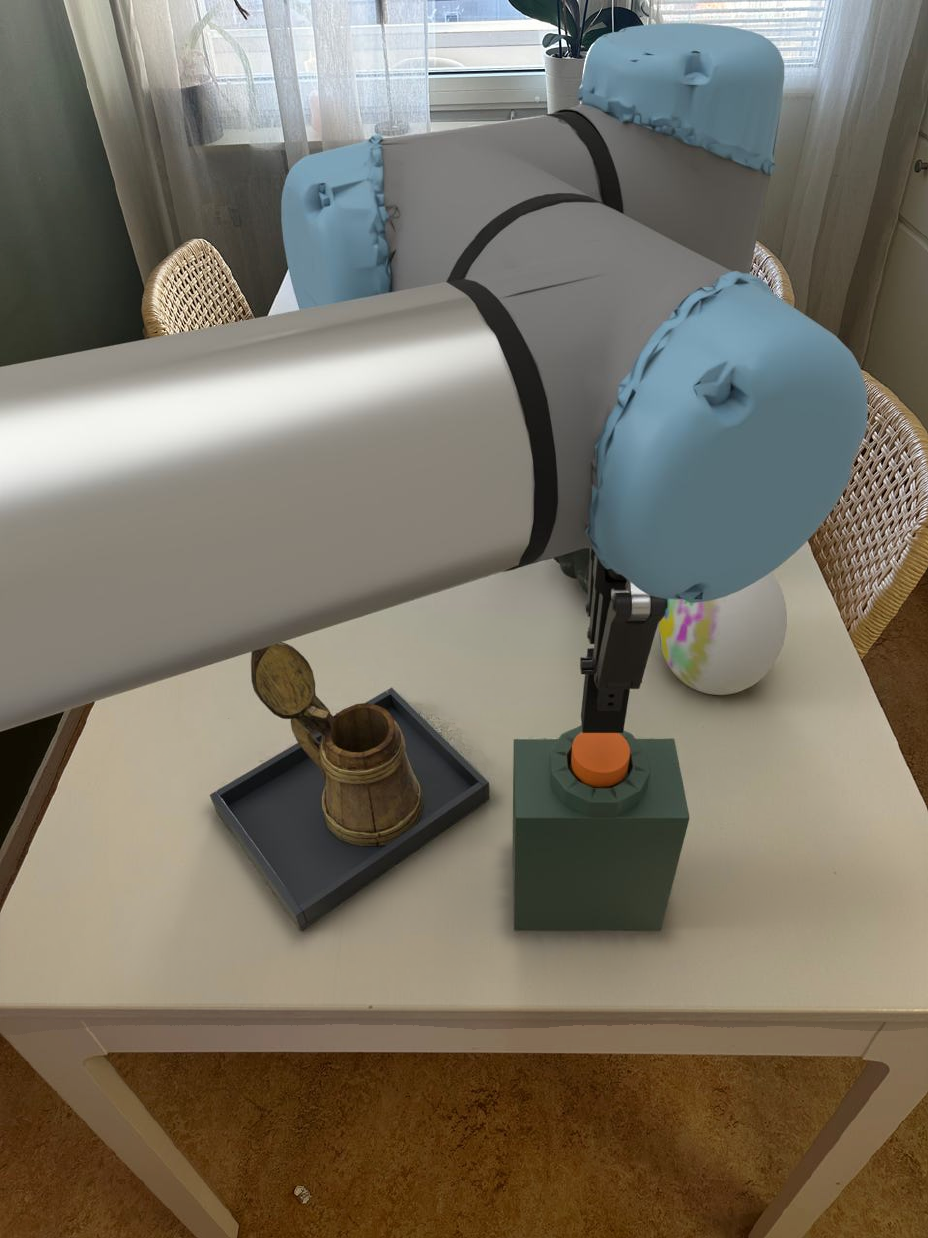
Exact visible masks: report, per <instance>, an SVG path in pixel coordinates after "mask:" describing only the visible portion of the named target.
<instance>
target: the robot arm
mask: <svg viewBox="0 0 928 1238" xmlns="http://www.w3.org/2000/svg"><path fill="white" fill-rule="evenodd" d="M783 59H784V58H783V55H782V54H781V52H780V50H779V48H778V46H776V44H774V42H773V41H771V40H770V39H769V38H768V37H765V36H764V35H762V34H760V33H757V32H753V31H750V30H746V29H743V28H739V27H734V26H729V25H719V24H710V23H709V24H708V23H692V22H691V23H689V22H688V23H687V22H684V23H682V22H681V23H679V22H678V23H672V22H671V23H654V24H653V23H652V24H642V25H636V26H635V25H634V26H628V27H625V28H621V29H620V30H618V31H613V32H608V33H605V34H603V35H601V36H599V37H598V38H597V39H596V40H595V41H594V42H593V43H592V44H591V45H590V47H589V49H588V51H587V53H586V56H585V60H584V65H583V72H582V78H581V83H580V86H579V87H578V88H577V90H578V93H577V94H578V95H577V101H579V104H578V105H577V106H571V107H567V108H562V109H559V110H556V111H555V110H554V112H552V113H547V114H542V115H536V116H530V117H523V118H516V119H508V120H502V121H501V120H500V121H496V122H489V123H482V124H473V125H469V126H462V127H461V126H460V127H455V128H447V129H440V130H434V131H427V132H420V133H413V134H406V135H399V136H394V137H393V136H392V137H387V138H384V136H383V134H382V133H380V134H373V135H371V136H370V138H369V139H368V140H365V141H361V142H357V143H352V144H350V145H349V144H348V145H344V146H341V147H337V148H332V149H328V150H324V151H321V152H316V153H312V154H308V155H306V156H304V157H302V158H301V159H299V160H298V161H297V162H296V163H294V165H293V166H292V167H291V168H290V170H289V171H288V173H287V175H286V178H285V181H284V185H283V189H282V193H281V205H280V207H281V210H280V211H281V216H280V217H281V218H280V220H281V232H282V239H283V247H284V252H285V258H286V264H287V270H288V273H289V278H290V282H291V285H292V289H293V293H294V297H295V301H296V303H297V306H298V309H297V310H292V311H291V310H290V311H286V312H281V313H275V314H270V315H266V316H260V317H256V318H250V319H245V320H239V321H233V322H229V323H223V324H219V325H213V326H208V327H203V328H197V329H193V330H187V331H182V332H177V333H172V334H166V335H161V336H155V337H150V338H145V339H140V340H134V341H129V342H124V343H119V344H114V345H108V346H103V347H98V348H92V349H88V350H83V351H76V352H72V353H67V354H62V355H56V356H51V357H45V358H41V359H40V358H39V359H34V360H29V361H25V362H20V363H14V364H10V365H9V364H8V365H5V366H0V732H3V731H7V730H10V729H13V728H16V727H19V726H23V725H26V724H29V723H33V722H35V721H38V720H42V719H44V718H48V717H51V716H54V715H57V714H60V713H63V712H67V711H70V710H73V709H76V708H79V707H83V706H85V705H88V704H92V703H95V702H98V701H101V700H105V699H107V698H110V697H113V696H117V695H120V694H124V693H127V692H129V691H132V690H136V689H140V688H143V687H146V686H148V685H151V684H154V683H158V682H161V681H164V680H167V679H170V678H173V677H177V676H179V675H183V674H186V673H189V672H193V671H196V670H198V669H199V670H200V669H202V668H205V667H208V666H211V665H214V664H218V663H221V662H223V661H227V660H230V659H233V658H236V657H240V656H242V655H246V654H249V653H251V652H252V651H255V650H258V649H262V648H265V647H268V646H271V645H274V644H277V643H280V642H283V643H285V642H286V641H290V640H294V639H297V638H299V637H303V636H306V635H308V634H311V633H315V632H318V631H321V630H324V629H328V628H330V627H333V626H337V625H340V624H343V623H347V622H349V621H353V620H355V619H359V618H362V617H365V616H368V615H372V614H374V613H378V612H381V611H384V610H387V609H390V608H393V607H396V606H401V605H403V604H406V603H409V602H412V601H415V600H419V599H422V598H425V597H428V596H431V595H434V594H438V593H440V592H443V591H447V590H450V589H454V588H456V587H459V586H462V585H465V584H469V583H472V582H475V581H479V580H482V579H484V578H488V577H491V576H494V575H498V574H500V573H504V572H505V573H506V572H510V571H514V570H516V569H519V568H523V567H525V566H529V565H532V564H536V563H541V562H544V561H547V560H551V559H554V557H558V556H561V555H564V554H567V553H571V552H574V551H577V550H580V549H583V548H589V549H590V562H589V580H588V594H587V599H586V603H585V606H584V607H585V613H586V615H587V617H588V618H589V625H588V628H587V631H586V638H587V639H588V643H589V645H593V648H591V647H589V648H587V651H586V657H584V656H583V657H582V656H581V657H580V659H579V665H580V666H579V668H580V675H584V680H583V691H582V699H581V711H580V722H581V723H580V724H581V725H582V733H623V731H625V723H626V718H627V717H626V716H627V710H628V704H629V699H630V698H629V697H630V692H631V690H639V689H640V688H641V684H642V682H643V678H644V674H645V671H646V667H647V663H648V661H649V657H650V654H651V650H652V646H653V643H654V639H655V636H656V632H657V629H658V626H659V624H660V621H661V619H662V618H663V617H664V615H665V612H666V609H667V608H668V601H667V599H684V600H686V601H688V602H690V603H697V602H706V601H711V600H715V599H718V598H722V597H725V596H728V595H730V594H733V593H735V592H738V591H740V590H742V589H744V588H746V587H748V586H750V585H752V584H753V583H755V582H757V581H758V580H760V579H762V578H763V577H765V576H766V575H768V574H769V573H771V572H774V571H775V570H776V569H778V568H779V567H780V566H782V565H783V564H784V563H785V562H787V561H788V560H789V559H790V558H791V557H793V555H795V554H796V553H797V552H798V551H799V550H800V549H801V548H802V547H803V546H804V545H805V544H806V543H807V542H808V541H809V540H810V538H811V537H812V536H813V535H814V534H815V533H816V532H817V531H818V530H819V528H820V527H821V526H822V524H823V523H824V522H825V521H826V519H827V518H828V517H829V515H830V513H832V511H833V510H834V508H835V507H836V505H837V504H838V502H839V501H840V499H841V497H842V495H843V493H844V492H845V489H846V488H847V486H848V484H849V481H850V480H851V478H852V468H853V467H852V466H853V464H854V460H855V458H856V455H857V453H858V452H859V450H860V447H861V445H862V444H863V441H864V440H865V438H866V432H867V427H868V415H869V402H868V401H869V400H868V390H867V387H866V382H865V377H864V374H863V370H862V369H861V367H860V364H859V363H858V361H857V359H856V357H855V355H854V354H853V352H852V351H851V350H850V349H849V348H848V347H847V346H846V345H845V344H844V343H843V342H842V340H841V339H840V338H838V337H837V336H836V335H835V334H834V333H832V332H831V331H829V330H828V329H826V328H825V327H823V326H822V325H821V324H819V323H817V322H816V321H815V320H813V319H812V318H810V317H809V316H807V315H806V314H805V313H803V312H801V311H800V310H798V309H797V308H795V307H794V306H793V305H792V304H790V303H788V302H786V301H785V300H784V299H782V298H781V297H779V296H778V295H777V294H775V293H774V292H773V290H772V288H771V287H770V286H769V285H768V284H767V282H766V281H764V280H763V279H762V278H761V277H760V276H757V275H754V274H752V273H751V268H752V264H753V259H754V254H755V249H756V246H757V241H758V236H759V231H760V227H761V222H762V217H763V213H764V208H765V204H766V199H767V194H768V191H769V190H768V189H769V184H770V180H771V176H773V175H774V172H775V168H776V162H775V157H776V149H777V140H778V133H779V125H780V119H781V112H782V102H783V91H784V84H785V63H784V60H783Z"/></svg>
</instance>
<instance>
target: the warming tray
mask: <svg viewBox="0 0 928 1238" xmlns="http://www.w3.org/2000/svg"><path fill="white" fill-rule="evenodd" d="M365 703H369V704H374V705H377V706H380V707H382V708H384V709H386V710H387V711H388V712H389V713H390V715H391V716H392V718H393V719H394V721H395V722H396V723H397V725H398V727H399V728H400V730H401V732H402V734H403V737H404V741H405V752H406V755H407V758H408V760H409V763H410V766H411V768H412V771H413V774H414V775H415V777H416V779H417V781H418V783H419V785H420V787H421V790H422V793H423V800H424V804H423V810H422V814H421V816H420V818H419V820H418V823H417V824H416V825H415V826H414V827H413V828H411V829H410V830H408V831H407V832H405V833H404V834H402V835H401V836H399V837H398V838H397V839H395V840H394V841H392V842H391V843H389V844H388V845H385V846H358V845H354V844H351V843H349V842H346V841H342V840H340V839H339V838H338V837H337V836H336V835H335V834H334V833H333V832H332V831H331V830H330V829H329V828H328V826H327V823H326V820H325V816H324V812H323V808H322V795H323V791H324V788H325V786H326V780H325V778H324V776H323V773H322V771H321V770H320V768H319V767H318V766H317V765H316V763H315V762H314V761H313V760H312V759H311V758H310V757H309V755H308V754H307V753H306V752H305V751H304V749H303V748H302V747H301V745H300V744H299V743H298V742H297V743H295V744H293V745H291V746H289V747H288V748H286V749H284V750H283V751H281V752H279V753H278V754H276V755H274V756H273V757H271V758H269V759H267V760H265V761H264V762H263V763H261V764H259V765H257V766H256V767H254V768H252V769H251V770H249V771H247V772H245V773H244V774H243V775H240V776H239V777H237V778H235V779H234V780H232V781H231V782H229V783H227V784H226V785H224V786H222V787H220V788H219V789H217V790H216V791H213V792H212V793H210V794H209V797H210V800H211V802H212V805H213V807H214V810H215V812H216V813H217V815H218V816H219V818H220V819H221V821H222V822H223V823H224V825H225V826H226V828H227V829H228V831H229V832H230V833H231V835H232V836H233V838H234V839H235V841H236V842H237V843H238V844H239V846H240V848H241V849H242V850H243V852H244V853H245V854H246V856H247V857H248V859H249V860H250V862H251V863H252V864H253V866H254V867H255V869H256V870H257V872H258V873H259V874H260V877H262V879H263V880H264V882H265V883H266V884H267V886H268V887H269V889H270V890H271V892H272V893H273V894H274V896H275V897H276V898H277V900H278V902H279V903H280V904H281V905H282V907H283V909H284V910H285V912H286V913H287V914H288V915H289V917H290V918H291V920H292V921H293V923H294V924H295V925H296V927H297V928H298V930H299V931H300V932H303V931H304V930H305V929H307V928H308V927H310V926H311V925H313V924H314V923H315V922H317V921H319V919H321V918H323V917H324V916H325V915H327V914H328V913H329V912H331V911H332V910H334V909H335V908H337V907H338V906H340V905H341V904H343V903H344V902H345V901H347V900H348V899H350V898H351V897H352V896H354V895H356V893H358V892H360V891H361V890H362V889H363V888H365V887H367V886H368V885H369V884H371V883H372V882H374V881H375V880H377V879H379V877H381V876H383V874H385V873H387V872H388V871H389V870H390V869H392V868H394V867H395V866H397V865H398V864H400V863H401V862H402V861H404V860H405V859H407V858H408V857H409V856H411V855H412V854H413V853H415V852H417V851H418V850H419V849H421V848H423V846H425V845H426V844H428V843H429V842H431V841H432V840H433V839H435V838H437V836H438V837H439V835H440V834H442V833H444V832H445V831H446V830H448V829H450V828H451V827H452V826H453V825H455V824H456V823H458V822H459V821H461V820H462V819H463V818H465V817H466V816H468V815H470V814H471V813H472V812H474V811H475V810H476V809H478V808H479V807H481V806H482V805H483V804H485V803H486V802H488V801H490V799H491V797H490V782H489V781H488V780H487V779H486V778H485V777H484V776H483V774H481V773H480V772H479V771H478V770H477V769H476V768H475V767H474V766H473V765H472V764H471V763H470V761H468V760H467V759H466V758H465V757H464V756H463V755H462V754H460V752H459V751H458V750H457V749H456V748H455V747H454V746H453V745H452V744H450V742H448V740H447V739H445V738H444V737H443V735H441V734H440V733H439V732H438V731H437V730H436V729H435V728H434V726H433V725H431V724H430V723H429V722H428V721H427V720H426V719H425V717H423V716H422V715H421V713H419V712H418V711H417V710H416V709H415V708H414V707H413V706H412V705H411V704H410V703H409V702H408V701H407V700H406V699H405V698H404V697H403V696H402V695H400V693H399V692H398V691H396V689H394V688H393V687H390V688H388V689H386V690H384V691H382V692H381V693H379V694H377V695H376V696H375V697H373V698H371V699H369V700H367V701H366V702H365ZM312 735H313V737H314V738H315V739H316V740H317V741H318V742H321V738H322V735H323V734H321V733H317V734H316V735H314V734H312Z"/></svg>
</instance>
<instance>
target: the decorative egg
mask: <svg viewBox="0 0 928 1238" xmlns="http://www.w3.org/2000/svg"><path fill="white" fill-rule="evenodd" d="M773 572H774V571H772V572H771V573H769V574H768V575H766V576H765V577H763V578H762V579H760V580H758V581H757V582H755V583H753V584H752V585H750V586H748V587H746V588H744V589H742V590H740V591H738V592H735V593H733V594H730V595H728V596H725V597H722V598H718V599H715V600H711V601H706V602H697V603H690V602H688V601H686V600H684V599H667V601H668V608H667V609H666V612H665V615H664V617H663V618H662V619H661V621H660V622H659V623H658V626H659V627H658V628H659V629H658V636H659V637H658V638H659V644H660V648H661V652H662V655H663V657H664V659H665V662H666V663H667V665H668V667H669V669H670V670H671V672H672V673H673V674H674V675H675V676H676V677H677V678H678V679H679V680H680V681H681V682H682V683H683V684H684V685H686V686H688V687H689V688H691V689H693V690H695V691H698V692H700V693H703V694H708V695H714V696H726V695H732V694H736V693H739V692H742V691H744V690H746V689H749V688H751V687H753V686H754V685H756V684H757V683H758V682H759V681H761V680H762V679H763V678H764V677H765V676H766V675H768V673H770V671H771V669H772V668H773V667H774V665H775V663H776V662H777V660H778V658H779V656H780V655H781V652H782V649H783V648H784V647H783V646H784V644H785V640H786V634H787V626H788V614H787V605H786V600H785V596H784V593H783V590H782V587H781V585H780V583H779V580H778V579H777V577H776V575H775V574H774V573H773Z"/></svg>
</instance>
